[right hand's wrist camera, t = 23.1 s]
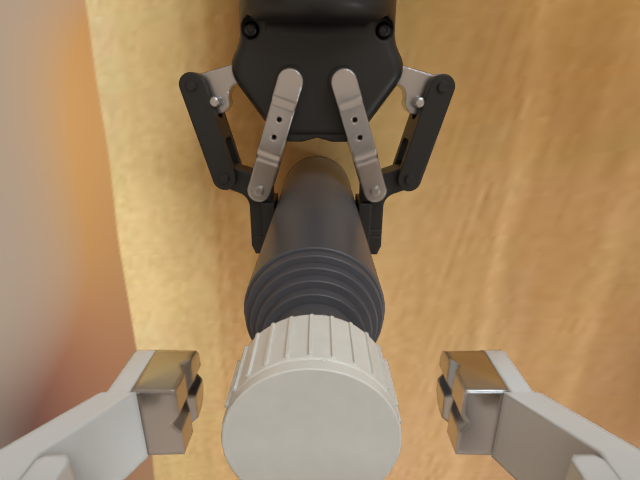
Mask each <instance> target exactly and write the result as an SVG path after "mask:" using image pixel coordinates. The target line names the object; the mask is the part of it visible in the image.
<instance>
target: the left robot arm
mask: <svg viewBox="0 0 640 480" xmlns="http://www.w3.org/2000/svg"><path fill="white" fill-rule="evenodd" d="M395 14H396V0H239V16H240V40H239V44H238V48H237V50H236V52H235V54H234V57H233V60H232V65H229V66H225V67H222V68H219V69H215V70H212V71H208V72H205V73H194V72H188V73H185V74H184V75H182V76H181V78H180V81H179V87H180V90H181V93H182V96H183V99H184V101H185V104H186V107H187V110H188V112H189V115H190V118H191V121H192V123H193V126H194V129H195V132H196V135H197V137H198V140H199V143H200V146H201V148H202V151H203V154H204V157H205V159H206V162H207V165H208V168H209V170H210V173H211V176H212V179H213V182H214V184H215V185H216V186H217V187H218V188H220V189H223V190H228V189H231V190H233V191H236V192H239V193H242V194H243V195H245V196H246V197H247V199H248V201H249V203H250V215H251V233H252V246H253V248H254V250H255V252H256V253H260V252H261V249H262V246H263V243H264V240H265V237H266V235H267V232H268V229H269V226H270V223H271V220H272V218H273V215H274V212H275V209H276V206H277V203H278V193H274V183H275V180H276V177H277V174H278V170H279V167H280V164H281V161H282V158H283V155H284V152H285V149H286V145H287V142H288V141H301V142H302V141H306V140H309V139H313V138H321V139H325V140H328V141H332V142H347V143H348V146H349V150H350V153H351V156H352V159H353V162H354V166H355V169H356V172H357V175H358V179H359V182H360V188H359V194H356V195H355V203H356V207H357V210H358V213H359V216H360V220H361V223H362V226H363V230H364V233H365V236H366V240H367V243H368V246H369V250H370V253H371V254H377V253H378V251H379V249H380V247H381V233H382V216H383V204H384V202H385V200H386V198H387V197H388V196H390V195H391V194H394V193H397V192H400V191H402V190H405V191H412V190H415V189H416V188H417V187H418V186H419V185H420V182H421V180H422V177H423V174H424V171H425V169H426V166H427V163H428V161H429V158H430V155H431V152H432V150H433V147H434V144H435V141H436V139H437V136H438V133H439V130H440V128H441V125H442V122H443V120H444V117H445V114H446V111H447V109H448V106H449V103H450V100H451V98H452V95H453V92H454V89H455V83H454V80H453V78H452V77H451V76H449V75H447V74H429V73H426V72H423V71H419V70H416V69H413V68H410V67H406V66H403V62H402V58H401V56H400V54H399V52H398V49H397V46H396V42H395ZM236 85H239V86H240V88H241V89H242V90H243V92H244V93H245V95H246V96H247V97H248V99H249V100H250V101H251V103H252V104H253V105H254V107H255V108H256V109H257V111H258V112H259V113H260V115H261V116H262V118H263V119H264V120H265V126H264V129H263V133H262V136H261V140H260V143H259V147H258V151H257V156H256V161H255V164H254V168H251V167H248V166H245V165H242V163H241V160H240V157H239V154H238V151H237V148H236V145H235V142H234V139H233V136H232V133H231V130H230V127H229V124H228V121H227V118H226V115H225V112H227V111H228V110H230V108H231V107H232V104H233V99H232V92H233V89H234V88H235V86H236ZM396 85H397V86H399V87H400V89H401V90H402V94H403V98H402V106H403V108H404V110H405V111H406V112H408V113H410V115H409V118H408V121H407V124H406V126H405V129H404V132H403V135H402V138H401V141H400V144H399V147H398V150H397V153H396V156H395V159H394V162H393V165H391V166H388V167H385V168H382V169H381V168H380V164H379V161H378V155H377V151H376V147H375V143H374V140H373V136H372V133H371V129H370V126H369V121H370V120H371V119H372V117H373V116H374V115H375V113H376V112H377V111H378V109H379V108H380V107H381V105H382V104H383V103H384V101H385V100H386V99H387V97H388V96H389V95H390V93H391V92H392V91H393V89H394V88H395V87H396Z"/></svg>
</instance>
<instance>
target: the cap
mask: <svg viewBox="0 0 640 480" xmlns="http://www.w3.org/2000/svg"><path fill="white" fill-rule="evenodd" d="M397 406H398V402H397V398H396V394H395V390H394V386H393V382H392V378H391V373H390V369H389V365H388V361H387V359H386V360H384V357H383V355H382V352H381V347H380V345H376V344H375V342H374V341H373V340H372V339H371V338H370V337H369V334H368V333H367V332H363V331H362V330H361V329H359V328H358V327H357V326H355V325H353V323H352V322H346V321H344V320H341V319H338V318H334V316H326V315H314V314H310V315H300V316H295V317H293V316H290V318H287V319H284V320H281V321H279V322H277V323H272V324H271V326H269V327H268V328H266V329H265V330H263V331H262V332H261V333H257V334H256V335H255V338H254V339H253V340H252V341H251V343H250V344H249V345H248V346H245V347H244V351H243V354H242V358H241V361H239V360H238V363H237V367H236V370H235V373H234V377H233V380H232V384H231V387H230V390H229V394H228V397H227V401H226V404H225V408H227V409H226V412H225V416H224V419H223V425H222V433H221V438H222V447H223V451H224V455H225V457H226V460H227V462H228V464H229V465H230V467H231V469H232V470H233V472H234V473H235V474H236V475H237V477H238V478H239V479H240V480H383V479H384V478H385V477H386V476H387V475H388V474H389V472H390V471H391V469H392V468H393V466H394V464H395V462H396V460H397V458H398V455H399V452H400V448H401V441H402V438H401V427H400V424H401V419H400V415H399V411H398V407H397Z"/></svg>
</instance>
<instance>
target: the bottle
mask: <svg viewBox="0 0 640 480" xmlns="http://www.w3.org/2000/svg"><path fill="white" fill-rule="evenodd" d="M384 313H385V302H384V297H383V293H382V289H381V286H380V283H379V279H378V276H377V273H376V269H375V266H374V263H373V259H372V256H371V253H370V250H369V246H368V243H367V240H366V236H365V233H364V230H363V226H362V223H361V220H360V216H359V213H358V210H357V207H356V203H355V200H354V197H353V193H352V190H351V187H350V183H349V180H348V177H347V175H346V173H345V171H344V170H343V169H342V167H341V166H340V165H339V164H337V163H336V162H334V161H333V160H331V159H328V158H325V157H309V158H306V159H303V160H302V161H300V162H298V163H297V164H296V165H295V166H293V168H292V169H291V170H290V172H289V173H288V175H287V178H286V181H285V183H284V186H283V189H282V192H281V195H280V198H279V200H278V203H277V206H276V209H275V212H274V215H273V218H272V220H271V223H270V226H269V229H268V232H267V235H266V237H265V240H264V243H263V246H262V249H261V252H260V254H259V257H258V260H257V263H256V266H255V269H254V271H253V274H252V277H251V280H250V283H249V286H248V288H247V292H246V295H245V301H244V314H245V320H246V326H247V329H248V333H249V335H250V337H251V339H252V340H253V339H254V338H255V335H256V334H257V333H261V332H262V331H263V330H265V329H266V328H268V327H269V326H271V324H272V323H277V322H279V321H281V320H284V319H287V318H290V316H293V317H295V316H300V315H310V314H314V315H326V316H334V318H338V319H341V320H344V321H346V322H352V323H353V325H355V326H357V327H358V328H359V329H361V330H362V331H363V332H367V333H368V334H369V337H370V338H371V339H372V340H373V341H374V342H375V343H376V341H377V339H378V337H379V334H380V332H381V328H382V324H383V320H384Z"/></svg>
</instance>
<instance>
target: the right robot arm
mask: <svg viewBox="0 0 640 480" xmlns="http://www.w3.org/2000/svg"><path fill="white" fill-rule="evenodd" d="M200 365H201V364H200V358H199V353H198V352H197V351H185V350H138V351H136V352H134V354H133V355H132V356H131V358H130V359H129V361H128V362H127V364H126V365H125V366H124V368H123V369H122V371H121V372H120V374H119V375H118V376H117V378H116V379H115V381H114V382H113V384H112V385H111V386H110V388H109V389H108V391H107V392H100V393H98V394H96V395H94V396H93V397H91V398H89V399H88V400H86V401H84V402H82V403H80V404H79V405H77V406H75V407H73V408H72V409H70V410H68V411H66V412H65V413H63V414H61V415H59V416H58V417H56V418H54V419H52V420H51V421H49V422H47V423H45V424H44V425H42V426H40V427H38V428H37V429H35V430H33V431H31V432H30V433H28V434H26V435H24V436H23V437H21V438H19V439H17V440H16V441H14V442H12V443H10V444H9V445H7V446H5V447H3V448H2V449H0V480H124V479H125V478H126V477H127V476H129V475H130V474H131V473H132V472H133V471H134V470H135V469H136V468H137V467H138V466H139V465H140V464H141V463H142V462H143V461H144V460H145V459H147V458H148V455H165V454H185V451H186V448H187V446H188V443H189V440H190V438H191V435H192V432H193V429H192V422H193V421H194V420H195V419H197V418H198V416H199V413H200V410H201V406H202V400H203V381H202V378H201V377H200V376H199V375H198V374H197V372H198V370H199V367H200ZM439 365H440V367H441V370H442V372H443V374H442V375H441V376H440V377H439V378H438V381H437V402H438V406H439V410H440V413H441V416H442V418H443V419H445V420H446V421H447V422H448V429H447V432H448V435H449V438H450V440H451V443H452V446H453V448H454V451H455V454H475V455H492V457H493V458H494V459H495V460H496V461H497V462H498V463H499V464H500V465H501V466H502V467H503V468H504V469H505V470H506V471H507V472H508V473H509V474H511V475H512V476H513V477H514V478H515V479H516V480H640V449H638V448H636V447H635V446H633V445H631V444H629V443H628V442H626V441H624V440H622V439H621V438H619V437H617V436H615V435H614V434H612V433H610V432H608V431H607V430H605V429H603V428H601V427H600V426H598V425H596V424H594V423H593V422H591V421H589V420H587V419H586V418H584V417H582V416H580V415H579V414H577V413H575V412H573V411H572V410H570V409H568V408H566V407H565V406H563V405H561V404H559V403H558V402H556V401H554V400H553V399H551V398H549V397H547V396H546V395H544V394H542V393H540V392H533V391H532V389H531V388H530V387H529V385H528V384H527V382H526V381H525V379H524V378H523V377H522V375H521V374H520V372H519V371H518V370H517V368H516V367H515V365H514V364H513V362H512V361H511V360H510V358H509V357H508V355H507V354H506V353H505V352H504V351H503V350H482V351H442V354H441V357H440V364H439Z"/></svg>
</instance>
